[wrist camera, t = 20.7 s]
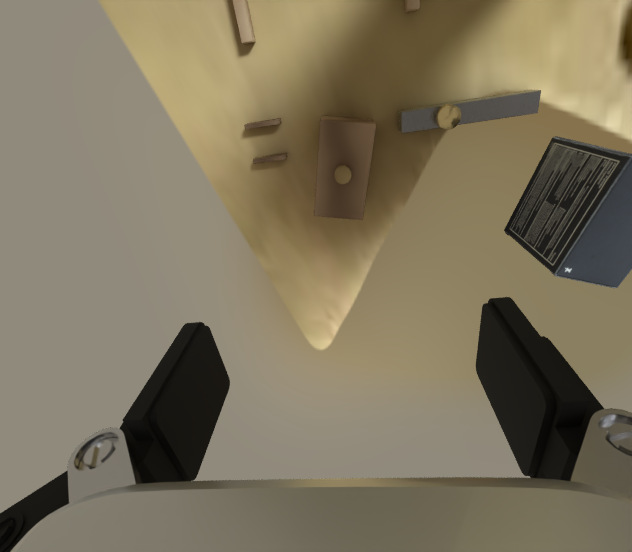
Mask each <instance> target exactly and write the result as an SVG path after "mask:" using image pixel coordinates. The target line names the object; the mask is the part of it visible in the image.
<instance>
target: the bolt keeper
mask: <svg viewBox="0 0 632 552" xmlns="http://www.w3.org/2000/svg"><path fill="white" fill-rule="evenodd" d="M280 123H281V118H279V119H273V120H267V121H260V122H254V123H248V124H246V125H245V129H250V128H257V127H263V126H269V125H275V124H280ZM287 157H288V156H287V153H284V154H277V155H270V156H263V157H257V158H254V159H253V163H254V164H257V163H263V162H270V161H277V160H284V159H286V158H287Z"/></svg>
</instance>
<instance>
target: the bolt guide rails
mask: <svg viewBox="0 0 632 552" xmlns="http://www.w3.org/2000/svg"><path fill="white" fill-rule="evenodd" d="M233 5H234V9H235V14H236V18H237V23H238V28H239V32H240V37H241V42H242V43H243V44H248V43H253V42H255V37H254V32H253V27H252V22H251V17H250V12H249V7H248V2H247V0H233ZM419 8H420V0H405V13H406V12H411V11H416V10H418V9H419Z"/></svg>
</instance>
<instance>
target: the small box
mask: <svg viewBox="0 0 632 552" xmlns="http://www.w3.org/2000/svg"><path fill="white" fill-rule="evenodd" d="M504 231H505V233H506V234H507V235H510V236H511V237H512V238H513V239H515V240H516V241H517V242H518V243H519V244H520V245H521V246H522V247H523V248H525V249H526V250H527V251H528V252H529V253H531V254H532V255H533V256H534V257H535V258H536V259H537V260H539V261H540V262H541V263H542V264H543V265H545V267H547V268H548V269H549V270H550V271H551V272H552V274H553V275H554V276H556V277H562V278H567V279H572V280H577V281H582V282H587V283H592V284H596V285H601V286H606V287H611V288H617V287H618V286H619V285H620V284H621V282H622V281H623V280H624V278H625V277H626V276H627V274H628V273H629V272H630V270H631V269H632V154H629V153H624V152H621V151H616V150H612V149H608V148H604V147H599V146H595V145H591V144H587V143H582V142H578V141H574V140H569V139H565V138H560V137H553V138H552V140H551V142H550V143H549V145H548V147H547V149H546V151H545V153H544V155H543V157H542V159H541V161H540V162H539V164H538V166H537V168H536V170H535V172H534V174H533V176H532V178H531V180H530V182H529V184H528V185H527V187H526V189H525V191H524V193H523V195H522V197H521V199H520V201H519V203H518V204H517V206H516V208H515V210H514V212H513V214H512V216H511V218H510V220H509V222H508V224H507V226H506V228H505V230H504Z"/></svg>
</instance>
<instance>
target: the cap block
mask: <svg viewBox="0 0 632 552" xmlns="http://www.w3.org/2000/svg"><path fill="white" fill-rule="evenodd" d="M375 130H376V123H375V122H374V121H373V119H361V118H348V117H335V116H322V118H321V120H320V133H319V148H318V163H317V179H316V194H315V209H314V216H323V217H334V218H346V219H358V220H363V214H364V207H365V200H366V193H367V186H368V179H369V172H370V165H371V158H372V151H373V144H374V137H375Z"/></svg>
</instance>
